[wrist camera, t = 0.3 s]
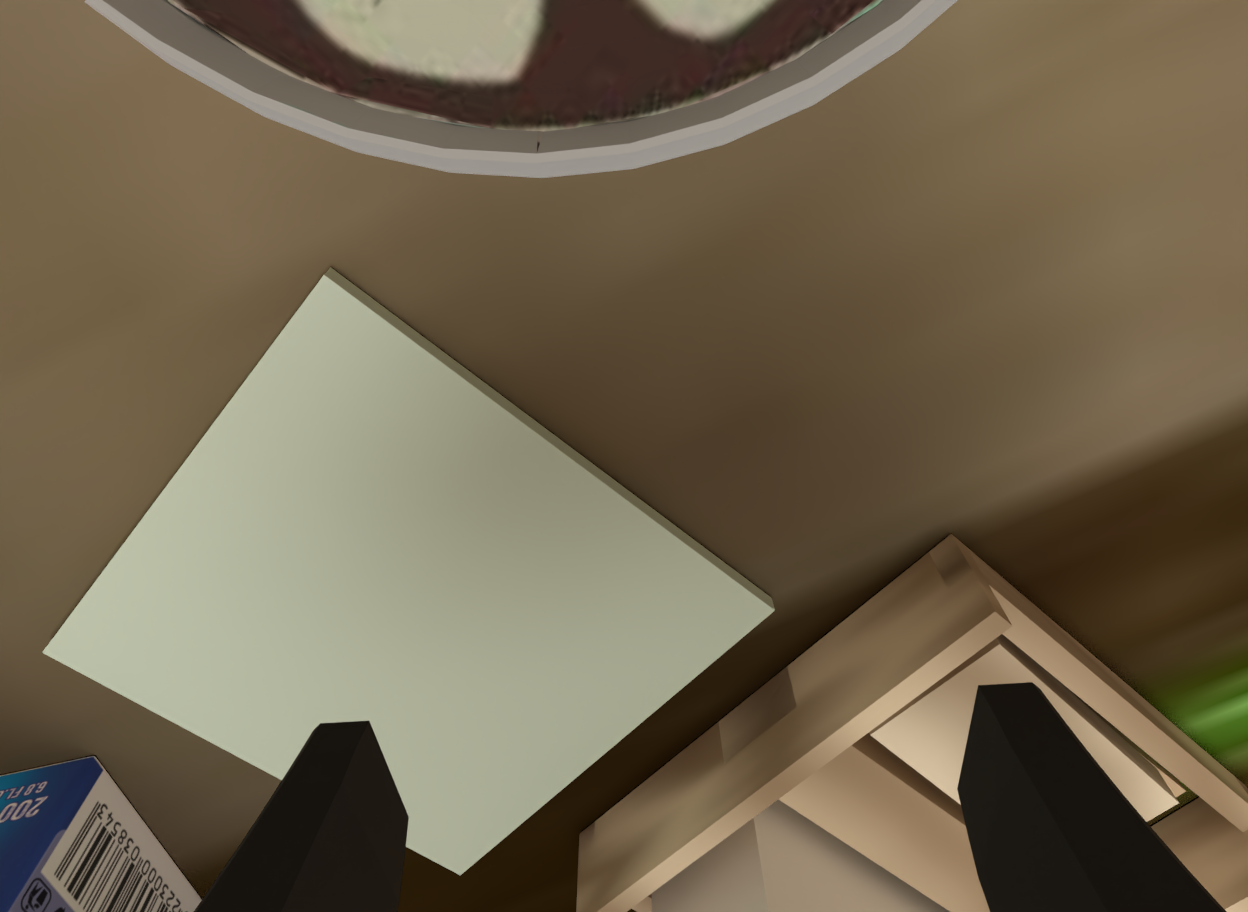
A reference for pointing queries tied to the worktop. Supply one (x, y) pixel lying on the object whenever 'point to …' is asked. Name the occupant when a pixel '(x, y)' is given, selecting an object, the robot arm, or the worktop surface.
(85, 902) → the beverage box
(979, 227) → the worktop surface
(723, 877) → the beige rectangular block
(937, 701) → the offcut upper
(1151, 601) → the worktop surface
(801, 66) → the food container
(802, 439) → the worktop surface
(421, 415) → the board
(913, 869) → the rack
